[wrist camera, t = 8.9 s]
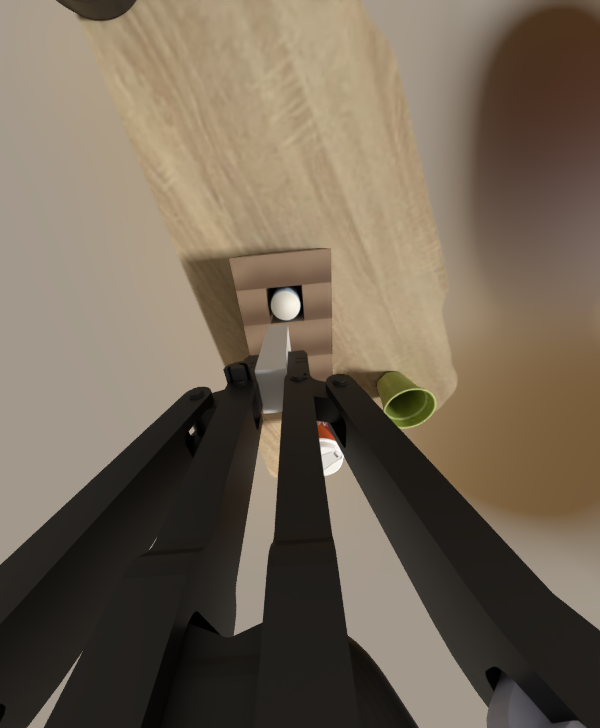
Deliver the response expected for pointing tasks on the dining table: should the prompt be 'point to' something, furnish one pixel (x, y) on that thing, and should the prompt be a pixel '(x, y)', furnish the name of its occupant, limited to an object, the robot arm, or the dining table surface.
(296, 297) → the peg
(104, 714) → the robot arm
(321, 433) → the coffee cup
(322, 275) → the collar block
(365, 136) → the dining table surface
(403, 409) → the plant pot
